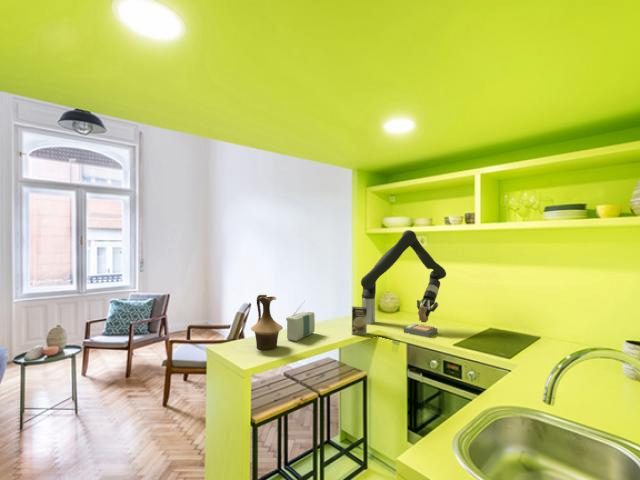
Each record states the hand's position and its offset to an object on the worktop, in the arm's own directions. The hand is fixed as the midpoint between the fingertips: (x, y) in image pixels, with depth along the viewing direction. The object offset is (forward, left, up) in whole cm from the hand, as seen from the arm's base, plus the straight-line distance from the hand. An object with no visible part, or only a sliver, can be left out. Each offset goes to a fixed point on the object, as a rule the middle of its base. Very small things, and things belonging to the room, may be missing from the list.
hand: (423, 315), depth 197 cm
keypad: (-2, +1, -11) cm, 11 cm away
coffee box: (-29, -27, -12) cm, 41 cm away
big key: (0, +1, -9) cm, 10 cm away
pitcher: (-50, -82, -12) cm, 96 cm away
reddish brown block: (0, +1, -4) cm, 4 cm away
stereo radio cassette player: (-51, -56, -12) cm, 76 cm away
